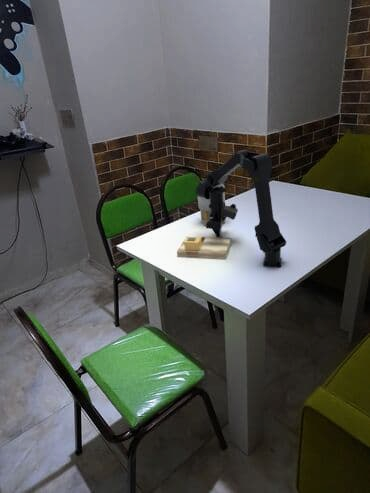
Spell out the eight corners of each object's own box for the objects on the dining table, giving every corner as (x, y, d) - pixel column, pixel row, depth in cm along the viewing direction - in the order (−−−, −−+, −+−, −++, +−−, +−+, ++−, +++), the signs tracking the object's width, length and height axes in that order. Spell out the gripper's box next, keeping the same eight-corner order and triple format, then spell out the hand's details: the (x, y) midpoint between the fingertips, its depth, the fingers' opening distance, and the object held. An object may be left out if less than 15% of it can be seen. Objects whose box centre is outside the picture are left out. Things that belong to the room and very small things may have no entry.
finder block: (199, 250, 139) (198, 241, 137) (185, 249, 141) (183, 241, 139) (202, 244, 143) (201, 236, 141) (188, 244, 145) (187, 236, 143)
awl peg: (221, 241, 150) (220, 224, 147) (215, 241, 151) (214, 224, 147) (222, 238, 152) (221, 221, 149) (216, 238, 153) (215, 221, 149)
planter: (230, 218, 171) (229, 184, 163) (217, 228, 162) (214, 192, 155) (209, 215, 179) (206, 181, 171) (194, 224, 170) (191, 189, 162)
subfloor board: (225, 259, 135) (225, 253, 134) (177, 256, 141) (176, 251, 140) (231, 243, 147) (231, 237, 146) (186, 241, 153) (186, 236, 152)
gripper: (232, 209, 133) (233, 245, 140) (239, 194, 149) (240, 227, 156) (204, 209, 137) (207, 244, 144) (213, 194, 152) (216, 226, 159)
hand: (218, 235), depth 151 cm, fingers closed on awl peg, 3 cm apart
